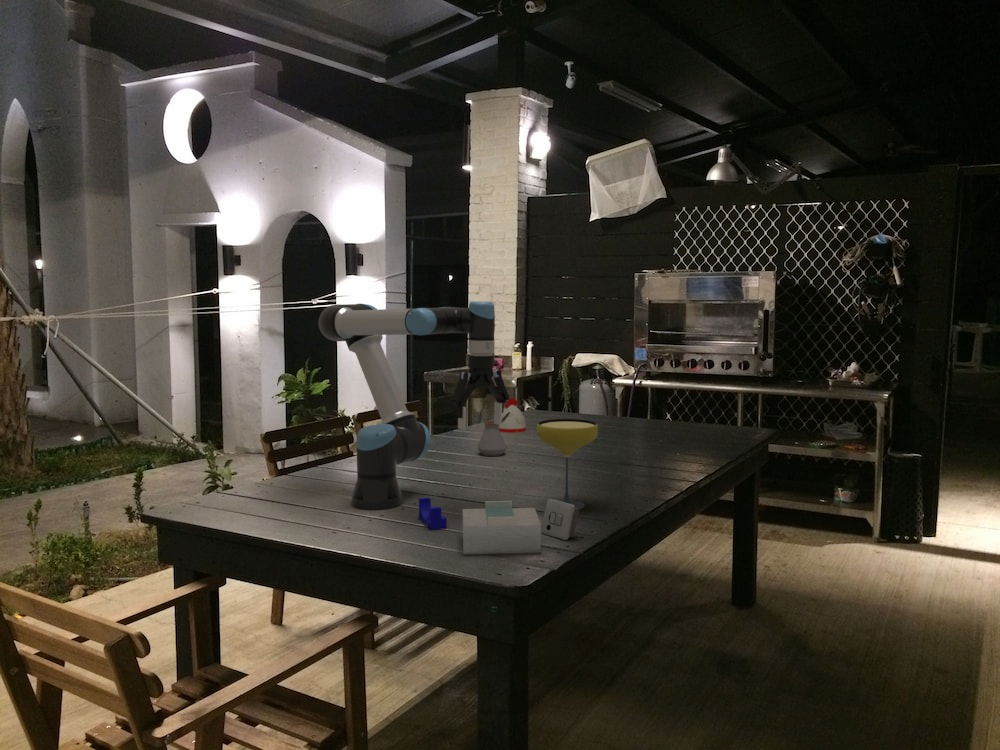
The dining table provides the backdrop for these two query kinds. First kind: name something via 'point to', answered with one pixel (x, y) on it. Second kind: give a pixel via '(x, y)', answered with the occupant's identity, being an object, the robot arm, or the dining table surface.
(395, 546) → the dining table surface
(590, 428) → the cocktail glass
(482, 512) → the white boxy block
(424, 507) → the blue stepped piece
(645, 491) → the dining table surface
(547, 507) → the electrical switch
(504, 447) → the coffee pot
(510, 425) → the kitchen timer
